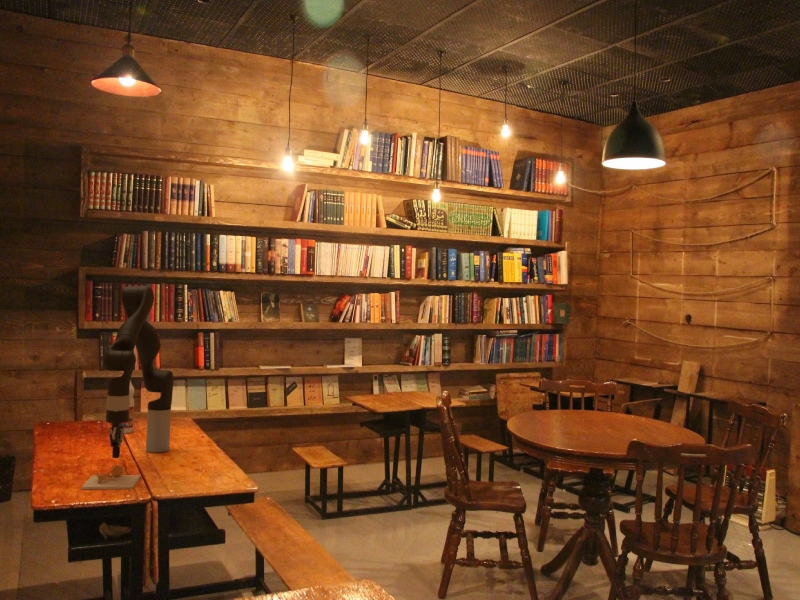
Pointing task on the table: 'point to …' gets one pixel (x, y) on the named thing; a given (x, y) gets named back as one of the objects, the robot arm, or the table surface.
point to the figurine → (115, 471)
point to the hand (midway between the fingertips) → (115, 457)
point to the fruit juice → (129, 425)
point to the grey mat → (112, 482)
